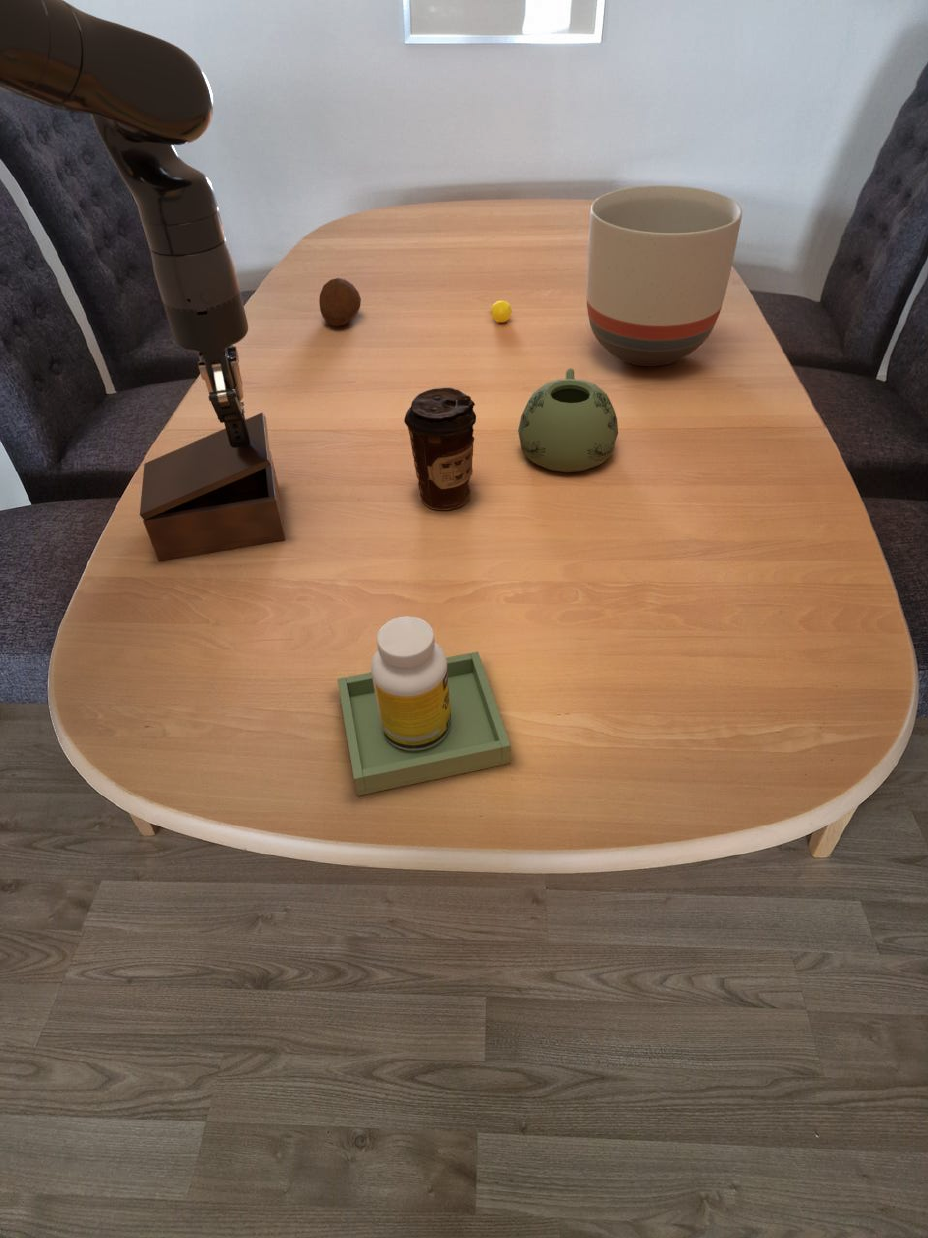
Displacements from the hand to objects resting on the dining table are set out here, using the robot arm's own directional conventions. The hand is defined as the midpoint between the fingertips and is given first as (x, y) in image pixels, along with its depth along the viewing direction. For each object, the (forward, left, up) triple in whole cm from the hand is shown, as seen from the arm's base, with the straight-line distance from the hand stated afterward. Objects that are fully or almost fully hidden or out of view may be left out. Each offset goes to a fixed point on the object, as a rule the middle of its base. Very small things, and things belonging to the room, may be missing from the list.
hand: (240, 443), depth 91 cm
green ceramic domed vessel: (+41, +5, -11) cm, 43 cm away
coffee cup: (+23, -2, -11) cm, 25 cm away
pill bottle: (+12, -37, -10) cm, 40 cm away
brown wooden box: (-5, 0, -10) cm, 11 cm away
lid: (-4, 0, -2) cm, 5 cm away
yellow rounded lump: (+43, +46, -11) cm, 64 cm away
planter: (+61, +26, -11) cm, 67 cm away
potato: (+17, +54, -11) cm, 58 cm away
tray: (+13, -37, -10) cm, 41 cm away
